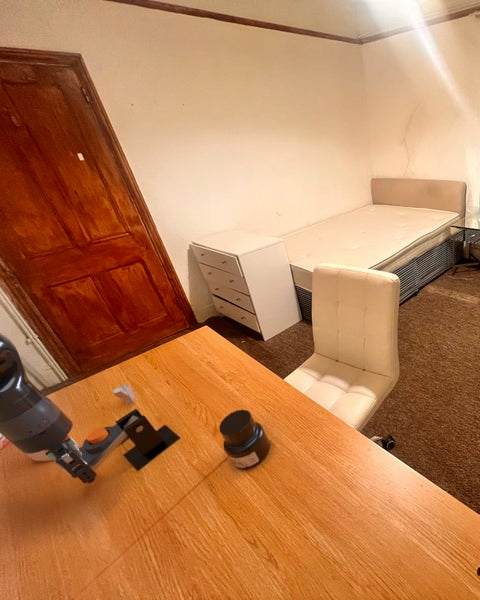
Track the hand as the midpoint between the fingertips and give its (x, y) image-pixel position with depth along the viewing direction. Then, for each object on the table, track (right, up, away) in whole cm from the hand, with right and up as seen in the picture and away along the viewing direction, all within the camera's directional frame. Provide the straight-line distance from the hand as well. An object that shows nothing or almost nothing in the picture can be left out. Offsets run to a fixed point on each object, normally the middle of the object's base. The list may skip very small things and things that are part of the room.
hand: (83, 469), depth 68 cm
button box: (-7, -1, +13) cm, 15 cm away
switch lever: (+3, +2, +4) cm, 6 cm away
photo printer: (-19, -3, +12) cm, 23 cm away
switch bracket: (+6, -1, +12) cm, 13 cm away
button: (-7, +2, +11) cm, 13 cm away
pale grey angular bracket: (-12, +6, +26) cm, 29 cm away
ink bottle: (+33, -1, +9) cm, 34 cm away
